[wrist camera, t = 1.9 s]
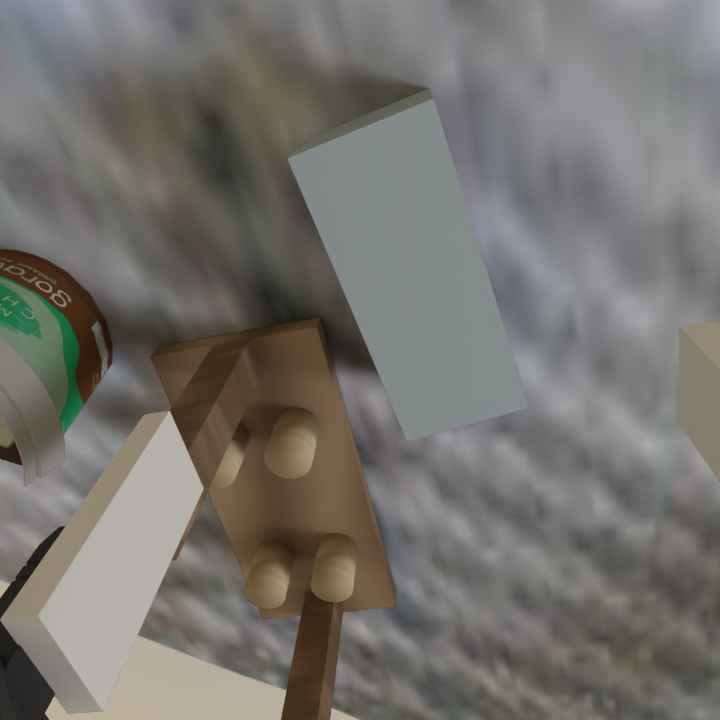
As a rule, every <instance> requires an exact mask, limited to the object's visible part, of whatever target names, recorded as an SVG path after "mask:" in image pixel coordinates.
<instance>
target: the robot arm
mask: <svg viewBox="0 0 720 720" xmlns="http://www.w3.org/2000/svg"><path fill="white" fill-rule="evenodd" d="M678 423H679V424H680V426H681V427H682V428H683V430H684V431H685V433H686V434H687V436H688V437H689V438H690V440H691V441H692V443H693V444H694V445H695V447H696V448H697V450H698V451H699V452H700V454H701V455H702V457H703V458H704V459H705V461H706V462H707V464H708V465H709V466H710V468H711V469H712V471H713V472H714V473H715V475H716V476H717V478H718V479H719V481H720V326H719V325H718V324H717V323H716V322H715V321H710V322H704V323H698V324H692V325H685V326H679V387H678ZM203 489H204V488H203V485H202V483H201V481H200V479H199V476H198V474H197V472H196V469H195V467H194V465H193V463H192V460H191V458H190V456H189V453H188V451H187V449H186V447H185V444H184V442H183V440H182V437H181V435H180V433H179V431H178V428H177V426H176V424H175V421H174V419H173V417H172V415H171V412H170V410H169V411H163V412H157V413H151V414H145V415H143V417H142V418H141V420H140V421H139V423H138V424H137V425H136V427H135V428H134V430H133V431H132V432H131V434H130V435H129V437H128V438H127V440H126V441H125V442H124V444H123V445H122V447H121V448H120V450H119V451H118V452H117V454H116V455H115V457H114V458H113V460H112V461H111V462H110V464H109V465H108V467H107V468H106V469H105V471H104V472H103V474H102V475H101V477H100V478H99V479H98V481H97V482H96V484H95V485H94V487H93V488H92V489H91V491H90V492H89V494H88V495H87V497H86V498H85V499H84V501H83V502H82V504H81V505H80V506H79V508H78V509H77V511H76V512H75V514H74V515H73V516H72V518H71V519H70V521H69V522H68V524H67V525H66V526H62V527H59V528H58V529H57V530H55V531H54V532H53V533H52V534H51V535H50V536H49V537H47V538H46V539H45V540H44V541H43V542H42V543H41V544H40V545H39V546H38V547H37V549H36V550H35V552H34V553H33V554H32V556H31V557H30V558H29V560H28V561H27V566H24V567H23V568H22V569H21V571H20V572H19V574H18V575H17V576H16V581H13V582H12V583H11V584H10V586H9V587H8V589H7V590H6V591H5V593H4V594H3V595H2V597H1V598H0V720H49V719H48V717H47V716H46V715H45V712H46V710H47V708H48V706H49V704H50V703H51V700H52V699H53V697H54V695H55V697H56V698H57V699H58V701H59V702H60V704H61V705H62V706H63V708H64V709H65V711H66V712H67V713H68V714H74V713H87V712H99V711H103V710H104V708H105V705H106V703H107V701H108V699H109V697H110V694H111V692H112V690H113V688H114V686H115V683H116V681H117V679H118V677H119V674H120V672H121V670H122V668H123V666H124V663H125V661H126V659H127V656H128V655H129V652H130V650H131V648H132V646H133V644H134V641H135V639H136V637H137V635H138V633H139V630H140V628H141V626H142V624H143V622H144V619H145V617H146V615H147V613H148V611H149V608H150V606H151V604H152V602H153V600H154V597H155V595H156V593H157V591H158V588H159V586H160V584H161V582H162V580H163V577H164V575H165V573H166V571H167V569H168V566H169V564H170V562H171V560H172V558H173V555H174V553H175V551H176V549H177V547H178V544H179V542H180V540H181V538H182V536H183V533H184V531H185V529H186V527H187V525H188V522H189V520H190V518H191V516H192V514H193V511H194V509H195V507H196V505H197V502H198V500H199V498H200V496H201V494H202V491H203Z"/></svg>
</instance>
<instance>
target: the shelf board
mask: <svg viewBox="0 0 720 720" xmlns="http://www.w3.org/2000/svg"><path fill="white" fill-rule="evenodd" d="M287 159H288V161H289V164H290V166H291V169H292V171H293V173H294V176H295V178H296V180H297V183H298V185H299V187H300V190H301V192H302V194H303V197H304V199H305V202H306V204H307V206H308V209H309V211H310V213H311V216H312V218H313V220H314V223H315V225H316V228H317V230H318V232H319V235H320V237H321V239H322V242H323V244H324V246H325V249H326V251H327V253H328V256H329V258H330V261H331V263H332V265H333V268H334V270H335V272H336V275H337V277H338V279H339V282H340V284H341V286H342V289H343V291H344V294H345V296H346V298H347V301H348V303H349V305H350V308H351V310H352V312H353V315H354V317H355V319H356V322H357V324H358V327H359V329H360V331H361V334H362V336H363V338H364V341H365V343H366V345H367V348H368V350H369V352H370V355H371V357H372V360H373V362H374V364H375V367H376V369H377V371H378V374H379V376H380V378H381V381H382V383H383V385H384V388H385V390H386V393H387V395H388V397H389V400H390V402H391V404H392V407H393V409H394V411H395V414H396V416H397V418H398V421H399V423H400V426H401V428H402V430H403V433H404V435H405V437H406V440H407V441H410V440H414V439H418V438H421V437H425V436H429V435H432V434H436V433H440V432H443V431H447V430H451V429H454V428H458V427H462V426H465V425H469V424H473V423H476V422H480V421H483V420H487V419H491V418H494V417H498V416H502V415H505V414H509V413H513V412H516V411H520V410H524V409H527V408H529V406H528V402H527V399H526V396H525V393H524V389H523V386H522V383H521V380H520V376H519V373H518V370H517V367H516V364H515V360H514V357H513V354H512V351H511V347H510V344H509V341H508V338H507V334H506V331H505V328H504V325H503V322H502V318H501V315H500V312H499V309H498V305H497V302H496V299H495V296H494V293H493V289H492V286H491V283H490V280H489V276H488V273H487V270H486V267H485V263H484V260H483V257H482V254H481V251H480V247H479V244H478V241H477V238H476V234H475V231H474V228H473V225H472V221H471V218H470V215H469V212H468V209H467V205H466V202H465V199H464V196H463V192H462V189H461V186H460V183H459V180H458V176H457V173H456V170H455V167H454V163H453V160H452V157H451V154H450V150H449V147H448V144H447V141H446V138H445V134H444V131H443V128H442V125H441V121H440V118H439V115H438V112H437V108H436V105H435V102H434V99H433V96H432V94H431V91H430V89H429V88H428V89H426V90H423V91H421V92H419V93H416V94H414V95H411V96H409V97H406V98H404V99H402V100H399V101H397V102H394V103H392V104H390V105H387V106H385V107H382V108H380V109H378V110H375V111H373V112H370V113H368V114H365V115H363V116H361V117H358V118H356V119H353V120H351V121H349V122H346V123H344V124H341V125H339V126H337V127H334V128H332V129H329V130H327V131H325V132H322V133H320V134H317V135H315V136H312V137H311V138H310V139H308V140H307V141H306V142H305V143H304V144H303V145H302V146H301V147H299V148H298V149H297V150H296V151H295V152H294V153H293V154H292V155H291V156H289V157H288V158H287Z"/></svg>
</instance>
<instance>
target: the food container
mask: <svg viewBox="0 0 720 720" xmlns="http://www.w3.org/2000/svg"><path fill="white" fill-rule="evenodd" d="M112 349H113V345H112V341H111V338H110V334H109V330H108V327H107V323H106V319H105V318H104V316H103V314H102V313H101V311H100V310H99V308H98V306H97V305H96V303H95V301H94V300H93V298H92V296H91V295H90V294H89V293H88V292H87V291H86V290H85V289H84V288H83V287H82V286H81V285H80V284H79V283H78V282H77V281H76V280H75V279H74V278H73V277H72V276H71V275H70V274H69V273H68V272H66V271H64V270H63V269H61V268H59V267H58V266H56V265H54V264H53V263H51V262H49V261H48V260H46V259H43V258H41V257H38V256H36V255H33V254H29V253H25V252H21V251H15V250H0V459H2V460H6V461H9V462H12V463H15V464H19V465H22V466H23V470H24V486H26V487H27V486H28V485H29V484H30V483H31V482H32V480H33V479H34V478H35V477H38V478H43V477H44V476H45V475H46V474H48V473H49V472H50V471H52V470H53V469H54V468H55V467H57V466H58V465H59V464H61V463H62V462H63V461H64V460H65V441H64V436H63V435H64V434H65V432H66V431H67V429H68V428H69V427H70V425H71V424H72V422H73V421H74V419H75V418H76V416H77V415H78V413H79V412H80V410H81V409H82V407H83V406H84V404H85V403H86V401H87V400H88V398H89V397H90V395H91V394H92V393H93V391H94V390H95V388H96V387H97V385H98V384H99V382H100V381H101V379H102V378H103V376H104V375H105V373H106V372H107V370H108V369H109V367H110V366H111V364H112Z"/></svg>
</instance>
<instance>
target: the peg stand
mask: <svg viewBox="0 0 720 720" xmlns="http://www.w3.org/2000/svg"><path fill="white" fill-rule="evenodd" d="M151 359H152V362H153V364H154V366H155V369H156V371H157V373H158V376H159V378H160V380H161V383H162V385H163V387H164V390H165V392H166V394H167V397H168V399H169V401H170V404H171V406H172V409H171V410H170V412H171V415H172V417H173V419H174V421H175V424H176V426H177V428H178V431H179V433H180V435H181V437H182V440H183V442H184V444H185V447H186V449H187V451H188V453H189V456H190V458H191V460H192V463H193V465H194V467H195V469H196V472H197V474H198V476H199V479H200V481H201V483H202V485H203V488H204V489H203V491H202V494H201V496H200V498H199V500H198V502H197V505H196V507H195V509H194V511H193V514H192V516H191V518H190V520H189V522H188V525H187V527H186V529H185V531H184V533H183V536H182V538H181V540H180V542H179V544H178V547H177V549H176V551H175V553H174V555H173V558H172V560H177V557H178V555H179V553H180V551H181V549H182V546H183V544H184V542H185V540H186V538H187V536H188V533H189V531H190V529H191V527H192V525H193V522H194V520H195V518H196V516H197V514H198V511H199V509H200V507H201V505H202V503H203V501H204V498H205V496H206V494H207V492H209V494H210V497H211V499H212V501H213V504H214V506H215V508H216V511H217V513H218V515H219V518H220V520H221V522H222V525H223V527H224V529H225V532H226V534H227V536H228V539H229V541H230V543H231V546H232V548H233V550H234V553H235V555H236V557H237V560H238V562H239V564H240V567H241V569H242V571H243V574H244V576H245V578H246V581H247V582H246V586H245V589H244V594H245V597H246V599H247V600H248V601H249V602H250V603H251V604H253V605H255V606H257V607H258V609H259V611H260V613H261V616H262V618H263V619H272V618H282V617H293V616H301V619H300V624H299V630H298V635H297V640H296V645H295V650H294V655H293V661H292V666H291V671H290V676H289V681H288V686H287V692H286V697H285V703H284V707H283V712H282V718H281V720H330V716H331V707H332V699H333V691H334V682H335V674H336V666H337V658H338V649H339V641H340V633H341V624H342V616H343V612H346V611H356V610H367V609H377V608H388V607H396V589H395V585H394V581H393V578H392V574H391V571H390V567H389V563H388V560H387V556H386V553H385V549H384V545H383V542H382V538H381V535H380V531H379V527H378V524H377V520H376V517H375V513H374V509H373V506H372V502H371V499H370V495H369V491H368V488H367V484H366V481H365V477H364V473H363V470H362V466H361V463H360V459H359V456H358V452H357V448H356V445H355V441H354V438H353V434H352V430H351V427H350V423H349V420H348V416H347V412H346V409H345V405H344V402H343V398H342V394H341V391H340V387H339V384H338V380H337V376H336V373H335V369H334V366H333V362H332V358H331V355H330V351H329V348H328V344H327V340H326V337H325V333H324V330H323V326H322V322H321V319H320V317H318V318H313V319H307V320H302V321H296V322H291V323H285V324H280V325H274V326H269V327H263V328H258V329H252V330H247V331H241V332H236V333H230V334H225V335H219V336H214V337H208V338H203V339H197V340H192V341H186V342H181V343H175V344H170V345H164V346H159V347H158V348H157V349H156V351H155V352H154V353H153V354H152V355H151ZM172 560H171V561H172Z"/></svg>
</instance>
